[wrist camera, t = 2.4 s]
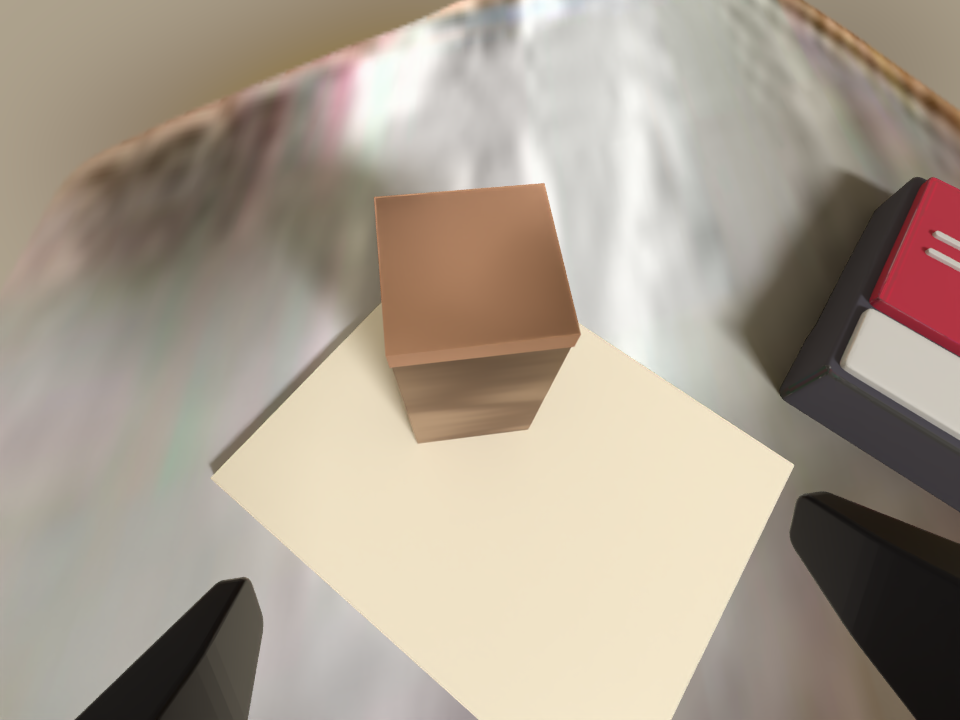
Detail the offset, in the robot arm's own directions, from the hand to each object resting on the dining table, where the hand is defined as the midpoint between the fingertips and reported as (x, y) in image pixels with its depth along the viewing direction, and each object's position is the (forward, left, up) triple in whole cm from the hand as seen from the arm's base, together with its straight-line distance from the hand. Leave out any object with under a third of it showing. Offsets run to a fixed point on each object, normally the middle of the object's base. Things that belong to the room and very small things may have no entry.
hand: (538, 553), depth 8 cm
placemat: (+1, -3, -14) cm, 14 cm away
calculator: (-12, -22, -14) cm, 29 cm away
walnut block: (+5, -5, -13) cm, 15 cm away
